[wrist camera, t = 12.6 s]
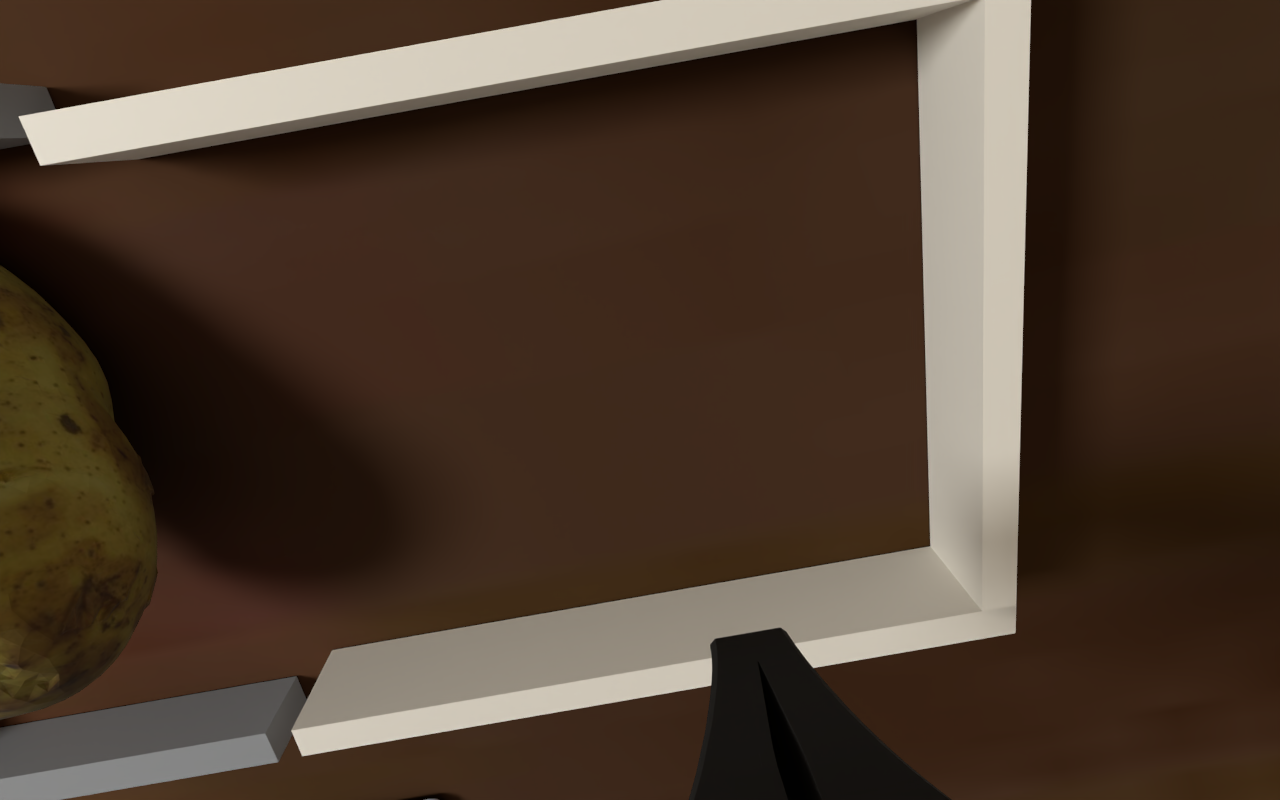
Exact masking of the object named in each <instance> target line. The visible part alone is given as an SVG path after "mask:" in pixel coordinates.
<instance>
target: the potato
mask: <svg viewBox="0 0 1280 800" xmlns="http://www.w3.org/2000/svg"><path fill="white" fill-rule="evenodd" d="M154 494H155V493H154V489H153V486H152V483H151V481H150V478H149V475H148V473H147V471H146V470H145V468H144V466H143V464H142V461H141V457H140V456H139V455H138V454H136V452H135V451H134V449H133V447H132V446H131V444H130V443H129V441H128V439H127V438H126V436H125V435H124V434H123V432H122V431H121V430H120V428H119V427H118V426H117V424H116V423H115V421H114V413H113V406H112V399H111V395H110V391H109V386H108V382H107V380H106V378H105V376H104V373H103V371H102V369H101V367H100V365H99V363H98V361H97V359H96V358H95V356H94V355H93V353H92V352H91V351H90V349H89V348H88V346H87V345H86V343H85V342H84V341H83V340H82V338H81V337H80V336H79V335H78V334H77V333H76V332H75V331H74V330H73V328H72V327H71V326H70V325H69V324H68V323H67V322H66V321H65V320H64V319H63V318H62V317H61V316H60V315H59V314H58V313H57V312H56V311H55V310H54V309H53V308H52V307H51V306H50V305H49V304H48V303H47V302H46V301H45V300H44V299H43V298H42V297H41V296H40V295H39V294H38V293H37V292H35V291H34V290H33V289H32V288H30V287H29V286H28V285H26V284H25V283H24V282H23V281H21V280H20V279H19V278H17V277H16V276H15V275H14V274H12V273H11V272H10V271H8V270H7V269H5V268H4V267H2V266H1V265H0V720H2V719H6V718H10V717H15V716H18V715H22V714H26V713H29V712H33V711H37V710H40V709H44V708H46V707H49V706H51V705H53V704H56V703H58V702H60V701H63V700H65V699H67V698H69V697H71V696H72V695H74V694H76V693H78V692H80V691H81V690H82V689H84V688H85V687H87V686H88V685H89V684H90V683H92V682H93V681H94V680H96V679H97V678H98V677H99V676H101V675H102V674H103V673H104V672H105V671H106V670H107V669H108V668H109V667H110V665H111V664H112V663H113V662H114V661H115V660H116V659H117V657H118V656H119V655H120V653H121V652H122V651H123V649H124V648H125V646H126V645H127V643H128V641H129V639H130V638H131V636H132V634H133V632H134V630H135V628H136V626H137V624H138V622H139V620H140V618H141V616H142V614H143V611H144V609H145V608H146V607H147V606H148V605H149V604H150V601H151V597H152V593H153V590H154V586H155V582H156V578H157V574H158V572H157V568H156V565H157V529H156V520H155V512H154V507H153V503H152V496H153V495H154Z"/></svg>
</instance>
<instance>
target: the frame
mask: <svg viewBox="0 0 1280 800" xmlns="http://www.w3.org/2000/svg"><path fill="white" fill-rule="evenodd" d="M51 110H56V109H55V107H54V105H53V102H52V100H51V97H50V95H49V93H48V90H47V88H46V87H40V86H27V85H14V84H1V83H0V149H5V148H11V147H16V146H22V145H27V144H30V141H29V139H28V137H27V135H26V132H25V130H24V128H23V126H22V123H21V121H20V119H19V117H18V116H24V115H29V114H35V113H40V112H46V111H51ZM306 701H307V699H306V697H305V695H304V692H303V690H302V688H301V685H300V683H299V681H298V678H297V676H295V677H289V678H283V679H278V680H272V681H266V682H260V683H255V684H249V685H243V686H237V687H232V688H226V689H220V690H214V691H209V692H203V693H197V694H191V695H185V696H180V697H174V698H168V699H162V700H157V701H151V702H145V703H139V704H134V705H128V706H122V707H116V708H111V709H105V710H99V711H93V712H87V713H82V714H76V715H70V716H64V717H59V718H53V719H47V720H41V721H36V722H30V723H24V724H18V725H13V726H7V727H1V728H0V800H61V799H67V798H73V797H78V796H84V795H90V794H96V793H102V792H107V791H113V790H119V789H125V788H131V787H136V786H142V785H148V784H154V783H160V782H165V781H171V780H177V779H183V778H189V777H194V776H200V775H206V774H212V773H218V772H223V771H229V770H235V769H241V768H247V767H252V766H258V765H264V764H270V763H275V762H279V760H280V758H281V756H282V754H283V752H284V750H285V748H286V746H287V744H288V742H289V740H290V738H291V736H292V732H291V730H292V728H293V726H294V724H295V722H296V720H297V718H298V716H299V714H300V712H301V710H302V708H303V706H304V704H305V702H306Z"/></svg>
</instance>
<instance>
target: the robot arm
mask: <svg viewBox="0 0 1280 800" xmlns="http://www.w3.org/2000/svg"><path fill="white" fill-rule="evenodd" d="M710 649H711V655H712V682H711V695H710V703H709V710H708V717H707V724H706V730H705V736H704V740H703V745H702V749H701V754H700V758H699V763H698V768H697V772H696V776H695V779H694V783H693V787H692V790H691V794H690V797H689V800H951V799H950V798H949V797H947V796H946V795H945V794H943V793H942V792H941V791H940V790H938V789H937V788H936V787H935V786H933V785H932V784H931V783H929V782H928V781H927V780H926V779H924V778H923V777H922V776H921V775H920V774H918V773H917V772H916V771H915V770H914V769H912V768H911V767H910V766H909V765H908V764H906V763H905V762H904V761H903V760H902V759H901V758H900V757H898V756H897V755H896V754H895V753H894V752H893V751H892V750H891V749H890V748H889V747H887V746H886V745H885V744H884V743H883V742H882V741H881V740H880V739H879V738H878V737H877V736H876V735H875V734H874V733H873V732H872V731H871V730H870V729H869V728H868V727H867V726H865V725H864V724H863V723H862V722H861V720H860V719H859V718H858V717H857V716H856V715H855V714H854V713H853V712H852V711H851V710H850V709H849V708H848V707H847V706H846V705H845V704H844V703H843V701H842V700H841V699H840V698H839V697H838V696H837V695H836V694H835V693H834V692H833V691H832V689H831V688H830V687H829V686H828V685H827V684H826V683H825V682H824V680H823V679H822V678H821V677H820V676H819V674H818V673H817V672H816V671H815V670H814V668H813V667H812V666H811V665H810V663H809V662H808V661H807V660H806V658H805V657H804V656H803V654H802V653H801V652H800V650H799V649H798V648H797V646H796V645H795V644H794V642H793V641H792V639H791V638H790V636H789V635H788V633H787V632H786V631H785V630H783V629H782V628H774V629H768V630H762V631H756V632H751V633H745V634H739V635H733V636H728V637H722V638H716V639H714V641H713V642H712V643H711V644H710ZM425 800H439V799H435V798H433V799H425Z"/></svg>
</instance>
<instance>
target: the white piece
mask: <svg viewBox="0 0 1280 800" xmlns="http://www.w3.org/2000/svg"><path fill="white" fill-rule="evenodd" d="M916 19H917V48H918V87H919V126H920V164H921V203H922V241H923V280H924V319H925V357H926V396H927V435H928V473H929V512H930V546H929V547H923V548H917V549H912V550H906V551H900V552H894V553H889V554H883V555H877V556H871V557H866V558H860V559H854V560H848V561H842V562H837V563H831V564H825V565H819V566H814V567H808V568H802V569H796V570H791V571H785V572H779V573H773V574H768V575H762V576H756V577H750V578H745V579H739V580H733V581H727V582H722V583H716V584H710V585H704V586H699V587H693V588H687V589H681V590H676V591H670V592H664V593H658V594H653V595H647V596H641V597H635V598H629V599H624V600H618V601H612V602H606V603H601V604H595V605H589V606H583V607H578V608H572V609H566V610H560V611H555V612H549V613H543V614H537V615H532V616H526V617H520V618H514V619H509V620H503V621H497V622H491V623H486V624H480V625H474V626H468V627H463V628H457V629H451V630H445V631H440V632H434V633H428V634H422V635H416V636H411V637H405V638H399V639H393V640H388V641H382V642H376V643H370V644H365V645H359V646H353V647H347V648H342V649H336V650H332V652H331V654H330V655H329V657H328V659H327V661H326V663H325V665H324V667H323V669H322V671H321V673H320V675H319V677H318V679H317V681H316V683H315V685H314V687H313V689H312V691H311V693H310V695H309V697H308V699H307V701H306V702H305V704H304V706H303V708H302V710H301V712H300V714H299V716H298V718H297V720H296V722H295V724H294V726H293V728H292V730H291V732H292V734H293V736H294V738H295V741H296V743H297V745H298V747H299V750H300V752H301V754H302V756H306V755H312V754H317V753H323V752H329V751H335V750H341V749H346V748H352V747H358V746H364V745H369V744H375V743H381V742H387V741H393V740H398V739H404V738H410V737H416V736H422V735H427V734H433V733H439V732H445V731H451V730H456V729H462V728H468V727H474V726H480V725H485V724H491V723H497V722H503V721H509V720H514V719H520V718H526V717H532V716H538V715H543V714H549V713H555V712H561V711H567V710H572V709H578V708H584V707H590V706H595V705H601V704H607V703H613V702H619V701H624V700H630V699H636V698H642V697H648V696H653V695H659V694H665V693H671V692H677V691H682V690H688V689H694V688H700V687H706V686H711V682H712V655H711V649H710V644H711V643H712V642H713V641H714V639H716V638H722V637H728V636H733V635H739V634H745V633H751V632H756V631H762V630H768V629H774V628H782V629H783V630H785V631H786V632H787V633H788V635H789V636H790V638H791V639H792V641H793V642H794V644H795V645H796V646H797V648H798V649H799V650H800V652H801V653H802V654H803V656H804V657H805V658H806V660H807V661H808V662H809V663H810V665H811V666H812V667H813V668H816V667H821V666H827V665H833V664H839V663H845V662H850V661H856V660H862V659H868V658H874V657H879V656H885V655H891V654H897V653H903V652H908V651H914V650H920V649H926V648H932V647H937V646H943V645H949V644H955V643H961V642H966V641H972V640H978V639H984V638H990V637H995V636H1001V635H1007V634H1013V633H1015V630H1016V590H1017V549H1018V509H1019V468H1020V428H1021V387H1022V347H1023V306H1024V266H1025V225H1026V184H1027V144H1028V103H1029V63H1030V22H1031V0H661V1H656V2H650V3H645V4H639V5H633V6H628V7H622V8H617V9H611V10H606V11H600V12H595V13H589V14H584V15H578V16H572V17H567V18H561V19H556V20H550V21H545V22H539V23H534V24H528V25H523V26H517V27H511V28H506V29H500V30H495V31H489V32H484V33H478V34H473V35H467V36H462V37H456V38H451V39H445V40H439V41H434V42H428V43H423V44H417V45H412V46H406V47H401V48H395V49H390V50H384V51H378V52H373V53H367V54H362V55H356V56H351V57H345V58H340V59H334V60H329V61H323V62H317V63H312V64H306V65H301V66H295V67H290V68H284V69H279V70H273V71H268V72H262V73H256V74H251V75H245V76H240V77H234V78H229V79H223V80H218V81H212V82H207V83H201V84H195V85H190V86H184V87H179V88H173V89H168V90H162V91H157V92H151V93H146V94H140V95H134V96H129V97H123V98H118V99H112V100H107V101H101V102H96V103H90V104H85V105H79V106H73V107H68V108H62V109H57V110H51V111H46V112H40V113H35V114H29V115H24V116H18V117H19V119H20V121H21V123H22V126H23V128H24V130H25V132H26V135H27V137H28V139H29V141H30V144H31V146H32V148H33V150H34V153H35V155H36V157H37V159H38V162H39V164H40V166H45V165H60V164H75V163H91V162H106V161H121V160H136V159H143V158H148V157H154V156H159V155H165V154H171V153H176V152H182V151H187V150H193V149H198V148H204V147H210V146H215V145H221V144H226V143H232V142H237V141H243V140H248V139H254V138H260V137H265V136H271V135H276V134H282V133H287V132H293V131H299V130H304V129H310V128H315V127H321V126H326V125H332V124H338V123H343V122H349V121H354V120H360V119H365V118H371V117H377V116H382V115H388V114H393V113H399V112H404V111H410V110H415V109H421V108H427V107H432V106H438V105H443V104H449V103H454V102H460V101H466V100H471V99H477V98H482V97H488V96H493V95H499V94H505V93H510V92H516V91H521V90H527V89H532V88H538V87H544V86H549V85H555V84H560V83H566V82H571V81H577V80H582V79H588V78H594V77H599V76H605V75H610V74H616V73H621V72H627V71H633V70H638V69H644V68H649V67H655V66H660V65H666V64H672V63H677V62H683V61H688V60H694V59H699V58H705V57H711V56H716V55H722V54H727V53H733V52H738V51H744V50H749V49H755V48H761V47H766V46H772V45H777V44H783V43H788V42H794V41H800V40H805V39H811V38H816V37H822V36H827V35H833V34H839V33H844V32H850V31H855V30H861V29H866V28H872V27H878V26H883V25H889V24H894V23H900V22H905V21H911V20H916Z"/></svg>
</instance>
